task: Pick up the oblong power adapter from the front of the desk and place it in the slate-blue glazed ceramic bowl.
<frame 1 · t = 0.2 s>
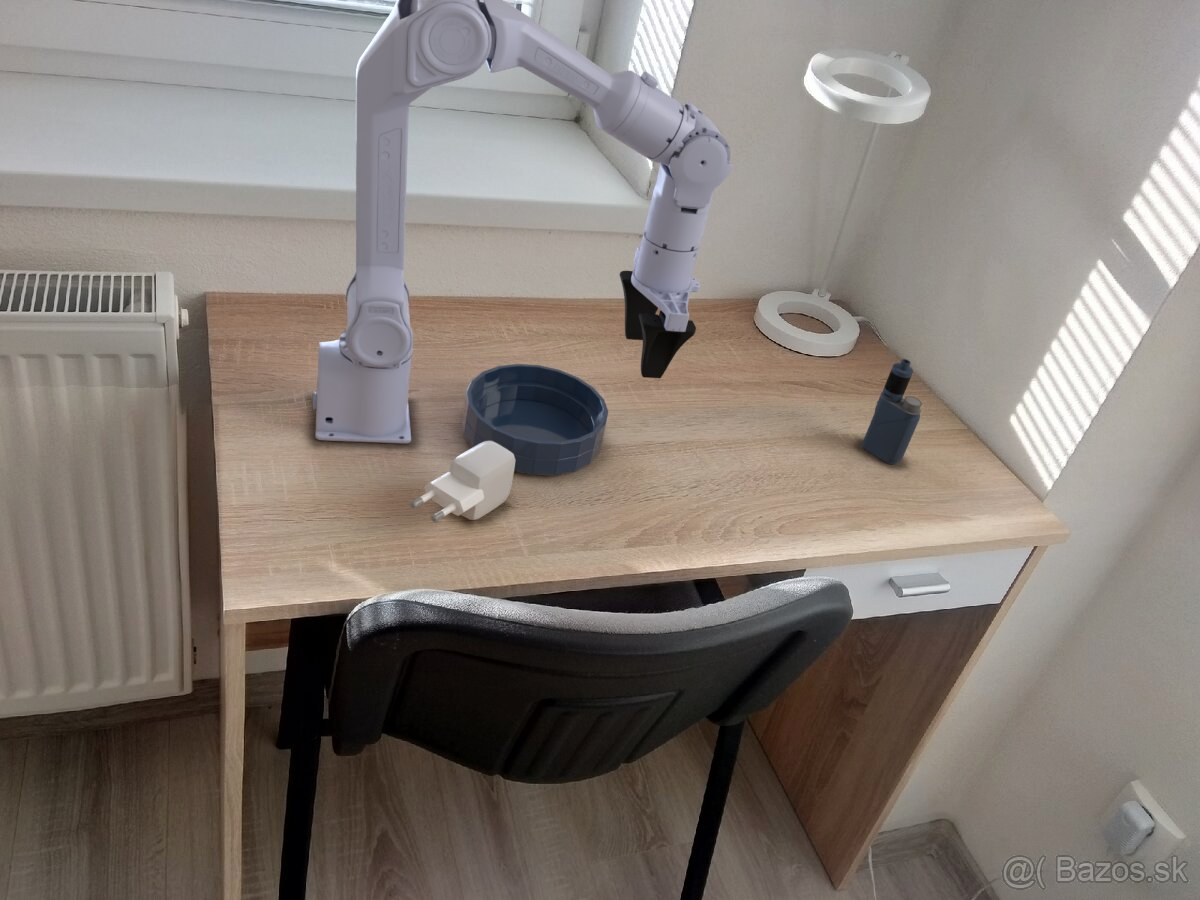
hand: (642, 356, 111), 10 cm above the table, tool pointing down, fingers open, 7 cm apart
power adapter: (459, 516, 100), on the table
vaping device: (879, 454, 124), on the table
bowl: (531, 436, 113), on the table
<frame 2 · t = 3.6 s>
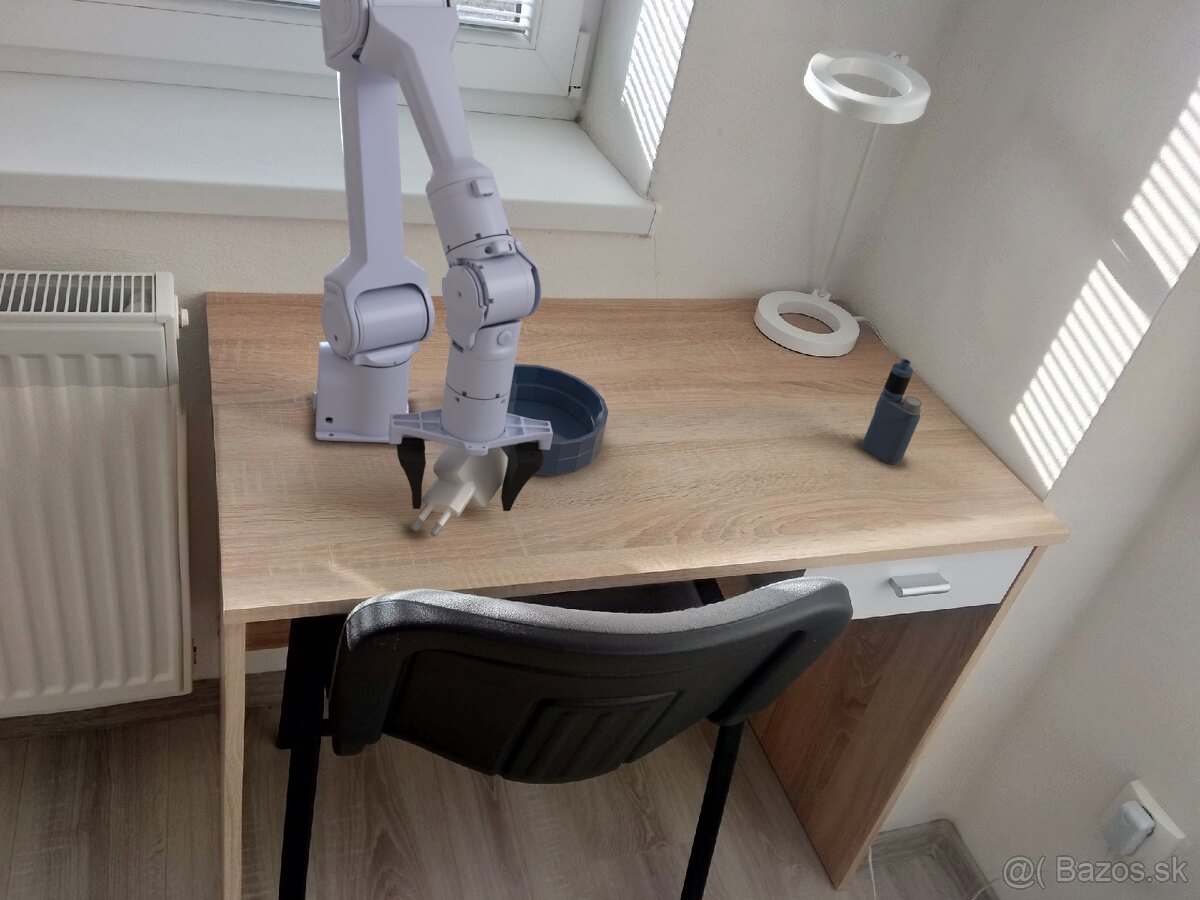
hand: (461, 503, 99), 2 cm above the table, tool pointing down
power adapter: (474, 508, 100), on the table, touching gripper
everything else where it was.
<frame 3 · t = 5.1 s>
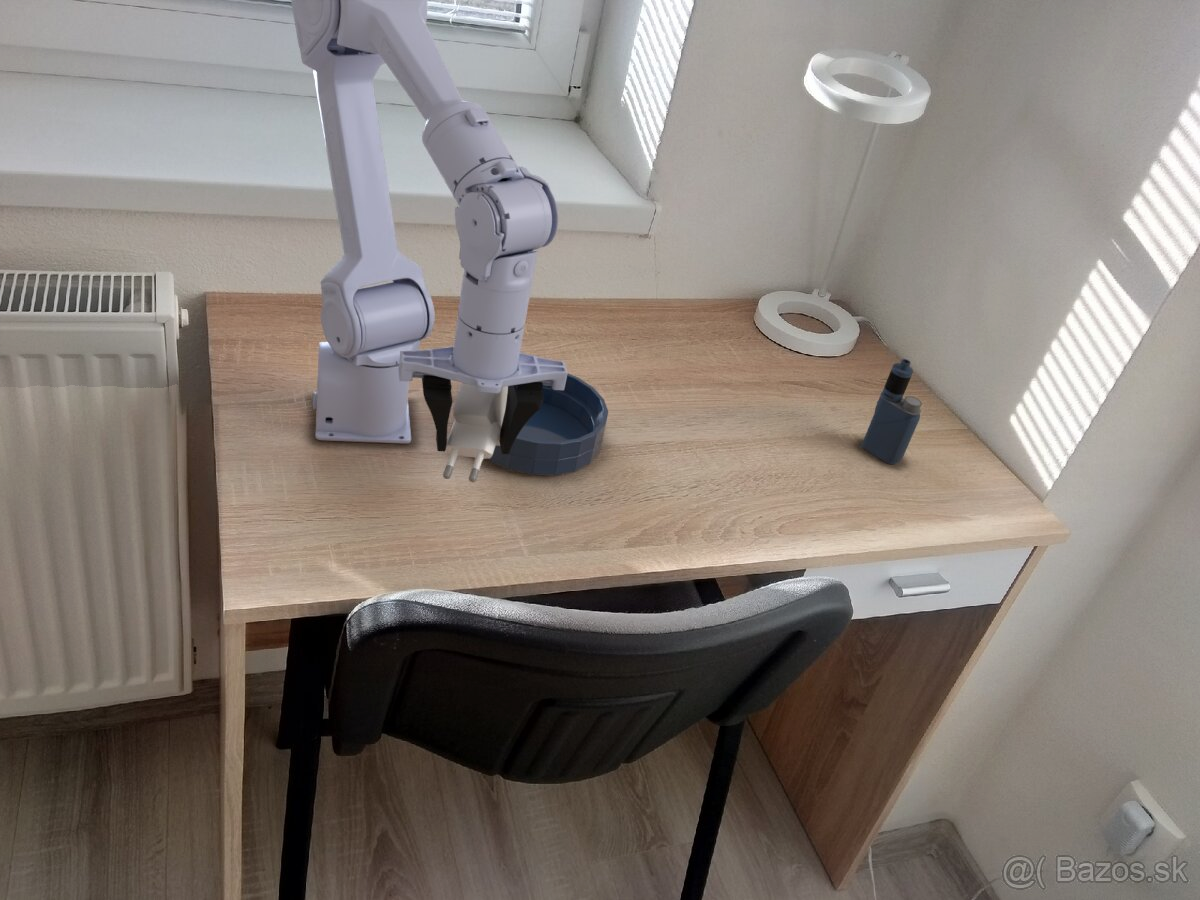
hand: (472, 446, 96), 8 cm above the table, tool pointing down, fingers closed on power adapter, 5 cm apart
power adapter: (488, 446, 100), point 6 cm above the table, touching gripper
everything else where it was.
when the fingers open (4 cm above the table, at t = 7.8 s): power adapter stays where it is, resting on bowl.
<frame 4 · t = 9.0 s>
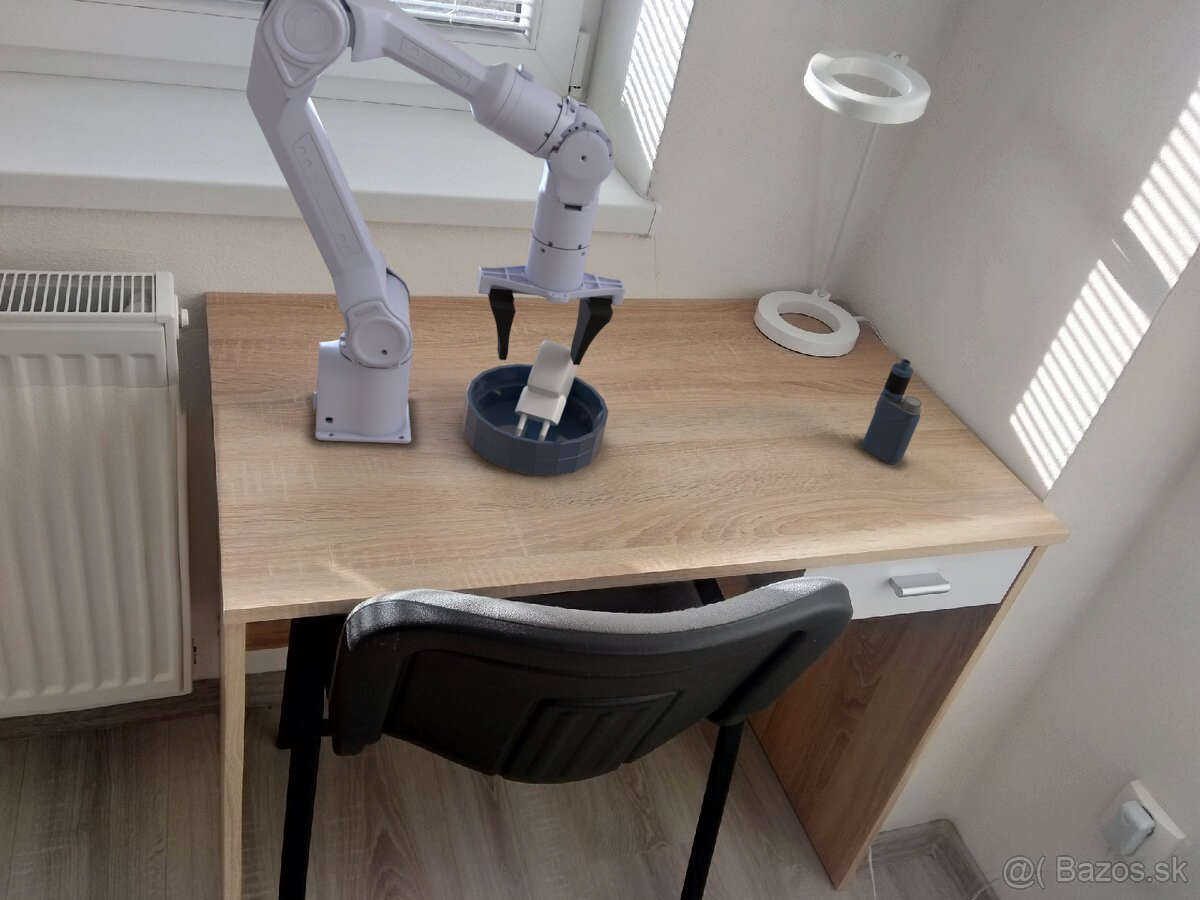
hand: (538, 357, 108), 9 cm above the table, tool pointing down, fingers open, 7 cm apart
power adapter: (547, 407, 115), point 2 cm above the table, touching bowl, gripper
everything else where it was.
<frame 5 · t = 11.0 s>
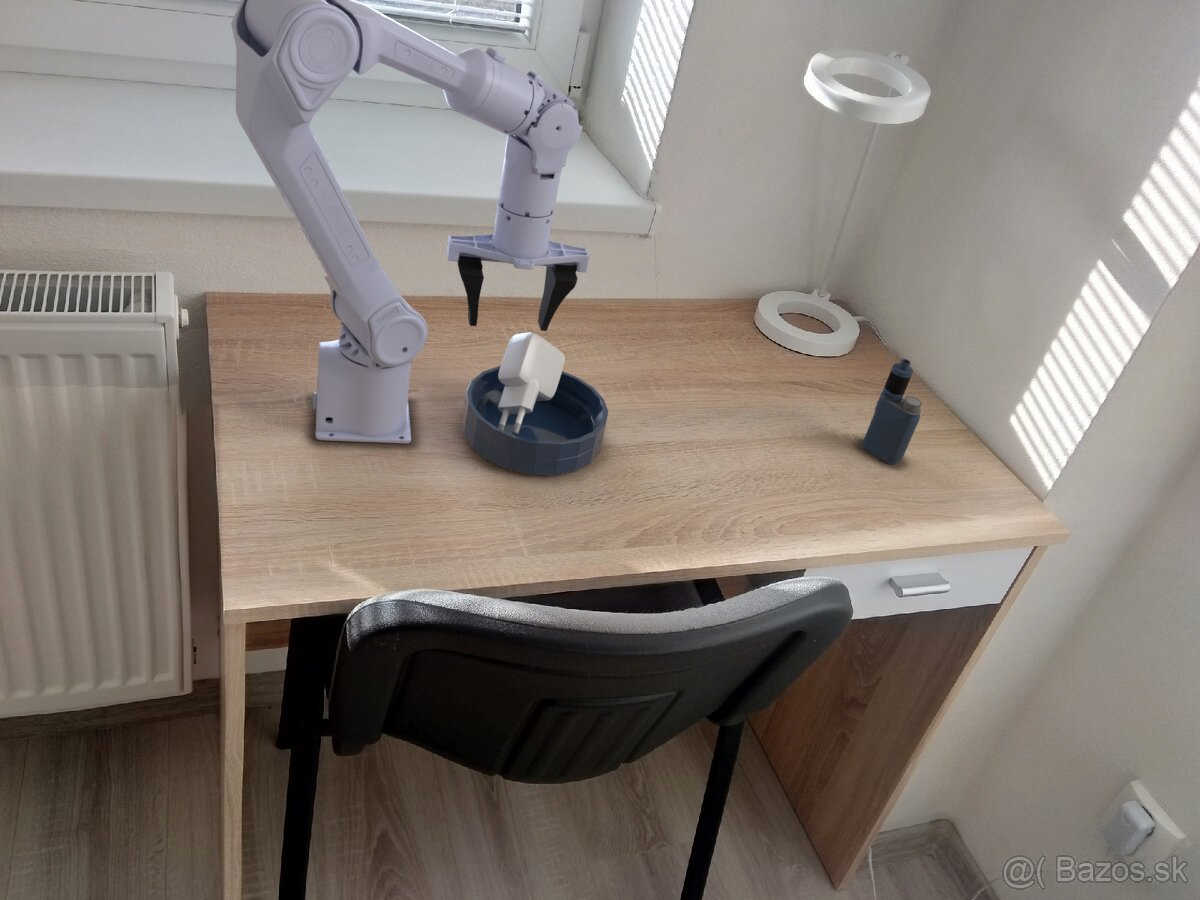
hand: (507, 323, 113), 9 cm above the table, tool pointing down, fingers open, 7 cm apart
power adapter: (544, 401, 114), point 3 cm above the table, touching bowl
everything else where it was.
at the end: power adapter inside the target area in the bowl (2.9 cm from its centre), point 2.9 cm above the bowl's base; the gripper is holding nothing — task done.
